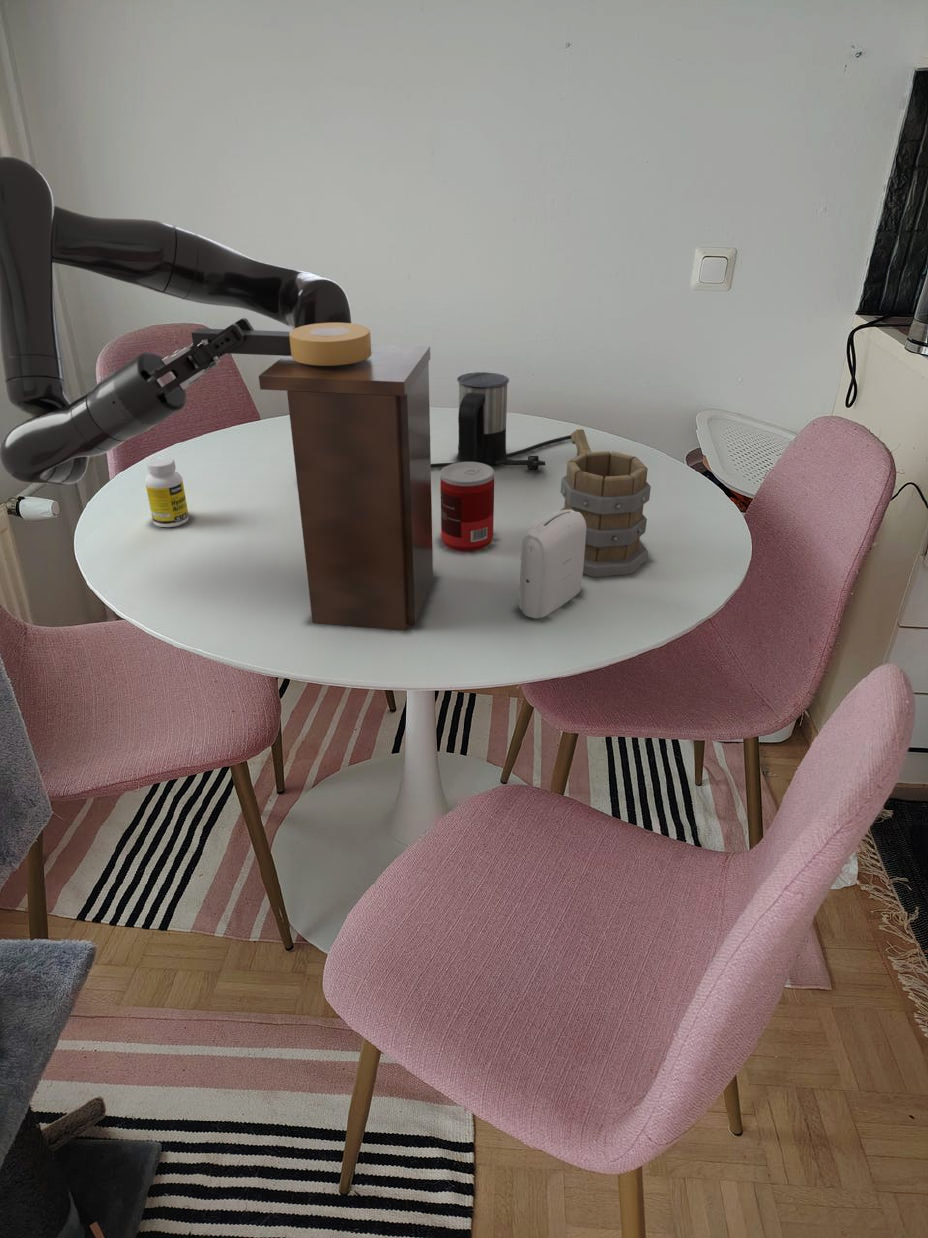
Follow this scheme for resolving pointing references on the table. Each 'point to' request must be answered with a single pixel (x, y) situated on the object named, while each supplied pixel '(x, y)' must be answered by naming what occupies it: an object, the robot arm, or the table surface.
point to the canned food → (467, 505)
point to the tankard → (608, 507)
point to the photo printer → (552, 563)
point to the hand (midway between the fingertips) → (244, 328)
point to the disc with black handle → (304, 343)
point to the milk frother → (485, 421)
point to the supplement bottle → (166, 493)
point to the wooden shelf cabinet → (363, 483)
